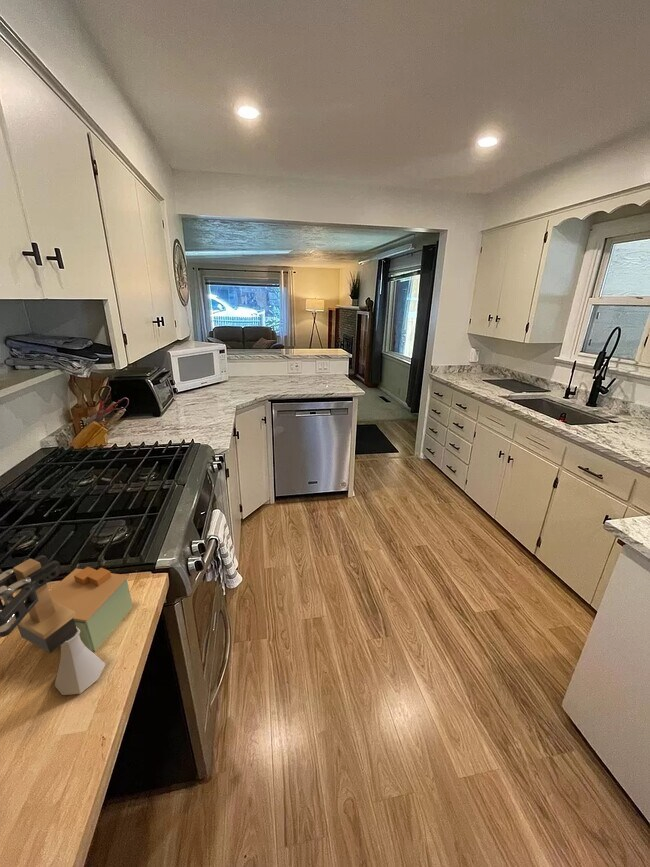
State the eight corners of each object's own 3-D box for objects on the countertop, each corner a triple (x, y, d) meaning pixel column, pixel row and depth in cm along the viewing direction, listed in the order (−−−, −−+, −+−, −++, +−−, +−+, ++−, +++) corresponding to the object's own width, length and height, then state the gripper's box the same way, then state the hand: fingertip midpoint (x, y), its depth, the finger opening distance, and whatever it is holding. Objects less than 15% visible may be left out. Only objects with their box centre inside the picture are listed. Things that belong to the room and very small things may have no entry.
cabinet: (35, 645, 69) (23, 612, 66) (84, 598, 80) (75, 568, 77) (93, 656, 67) (83, 622, 64) (135, 605, 78) (128, 575, 76)
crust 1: (84, 585, 73) (82, 579, 72) (75, 581, 74) (73, 575, 73) (98, 575, 75) (96, 570, 75) (89, 571, 76) (87, 566, 76)
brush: (49, 655, 51) (24, 583, 46) (18, 637, 53) (-8, 567, 49) (80, 631, 55) (59, 562, 50) (49, 615, 57) (28, 548, 53)
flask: (45, 690, 61) (29, 648, 58) (82, 653, 68) (69, 613, 64) (80, 701, 60) (66, 658, 56) (113, 662, 66) (103, 621, 63)
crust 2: (98, 586, 73) (96, 580, 72) (89, 582, 74) (87, 576, 73) (111, 576, 75) (110, 571, 75) (102, 573, 76) (101, 567, 76)
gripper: (-101, 665, 34) (78, 555, 49) (-163, 616, 39) (17, 530, 54) (-72, 717, 37) (89, 597, 52) (-133, 665, 42) (30, 569, 57)
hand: (52, 563), depth 53 cm, fingers closed on brush, 2 cm apart
